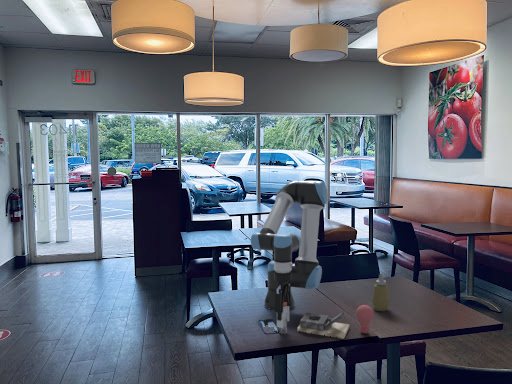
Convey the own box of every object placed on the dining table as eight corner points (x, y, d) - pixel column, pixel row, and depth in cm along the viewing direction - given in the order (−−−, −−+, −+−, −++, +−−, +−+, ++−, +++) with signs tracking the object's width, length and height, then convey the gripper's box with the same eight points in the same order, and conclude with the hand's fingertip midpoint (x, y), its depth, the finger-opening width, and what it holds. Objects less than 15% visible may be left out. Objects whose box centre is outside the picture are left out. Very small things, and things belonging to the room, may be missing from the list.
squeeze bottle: (390, 313, 197) (390, 276, 196) (372, 311, 199) (373, 275, 197) (388, 307, 205) (388, 271, 204) (371, 306, 207) (371, 270, 205)
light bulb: (370, 329, 178) (370, 302, 177) (375, 336, 171) (376, 308, 170) (354, 329, 178) (354, 302, 177) (358, 336, 171) (359, 308, 170)
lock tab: (326, 328, 175) (324, 325, 176) (329, 324, 180) (327, 321, 180) (342, 318, 172) (340, 315, 173) (344, 313, 177) (342, 311, 177)
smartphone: (264, 333, 174) (257, 319, 189) (264, 335, 174) (257, 321, 189) (281, 332, 176) (273, 318, 190) (281, 334, 176) (273, 320, 190)
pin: (278, 333, 174) (278, 302, 174) (280, 330, 177) (280, 300, 176) (285, 335, 173) (285, 303, 172) (287, 332, 176) (287, 301, 175)
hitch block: (297, 331, 177) (297, 321, 177) (305, 321, 188) (305, 311, 188) (343, 338, 169) (344, 328, 169) (349, 327, 180) (349, 317, 180)
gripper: (283, 277, 163) (283, 334, 164) (298, 266, 181) (298, 316, 183) (265, 276, 166) (266, 331, 167) (282, 264, 184) (282, 314, 186)
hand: (283, 323), depth 175 cm, fingers open, 7 cm apart
